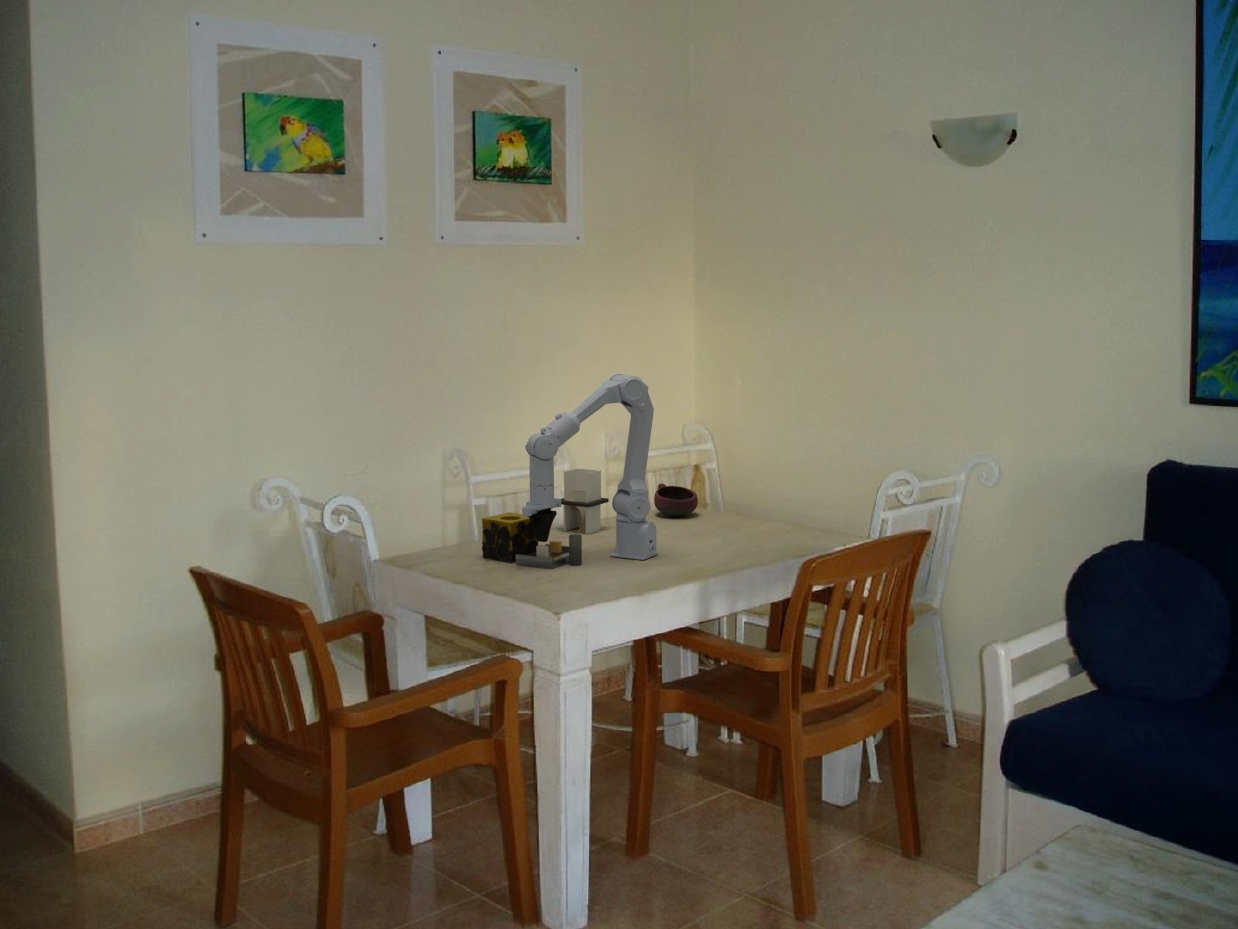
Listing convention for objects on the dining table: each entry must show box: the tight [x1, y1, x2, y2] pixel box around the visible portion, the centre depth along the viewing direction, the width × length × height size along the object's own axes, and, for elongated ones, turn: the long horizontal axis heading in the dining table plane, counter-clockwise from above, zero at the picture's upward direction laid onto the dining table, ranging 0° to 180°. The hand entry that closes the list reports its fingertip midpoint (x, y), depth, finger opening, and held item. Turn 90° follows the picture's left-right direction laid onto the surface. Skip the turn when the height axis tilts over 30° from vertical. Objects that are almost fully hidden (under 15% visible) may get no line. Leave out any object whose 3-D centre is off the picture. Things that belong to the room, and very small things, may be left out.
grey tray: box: [515, 543, 569, 570], centre depth 307 cm, size 10×14×2 cm
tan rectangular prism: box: [549, 540, 563, 553], centre depth 309 cm, size 2×2×2 cm
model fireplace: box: [560, 468, 609, 535], centre depth 345 cm, size 25×24×16 cm
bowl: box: [653, 483, 699, 517], centre depth 367 cm, size 16×13×8 cm
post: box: [568, 533, 583, 567], centre depth 303 cm, size 3×3×7 cm
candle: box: [481, 511, 539, 564], centre depth 311 cm, size 10×10×10 cm
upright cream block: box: [536, 544, 549, 557], centre depth 304 cm, size 2×2×2 cm
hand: (542, 541), depth 304 cm, fingers closed
